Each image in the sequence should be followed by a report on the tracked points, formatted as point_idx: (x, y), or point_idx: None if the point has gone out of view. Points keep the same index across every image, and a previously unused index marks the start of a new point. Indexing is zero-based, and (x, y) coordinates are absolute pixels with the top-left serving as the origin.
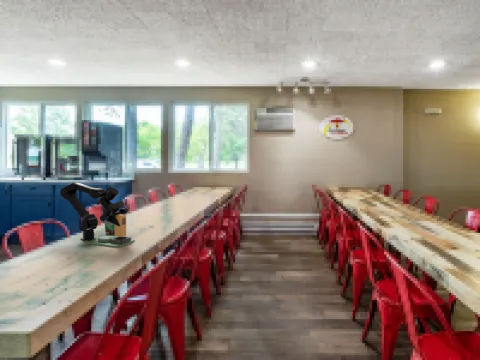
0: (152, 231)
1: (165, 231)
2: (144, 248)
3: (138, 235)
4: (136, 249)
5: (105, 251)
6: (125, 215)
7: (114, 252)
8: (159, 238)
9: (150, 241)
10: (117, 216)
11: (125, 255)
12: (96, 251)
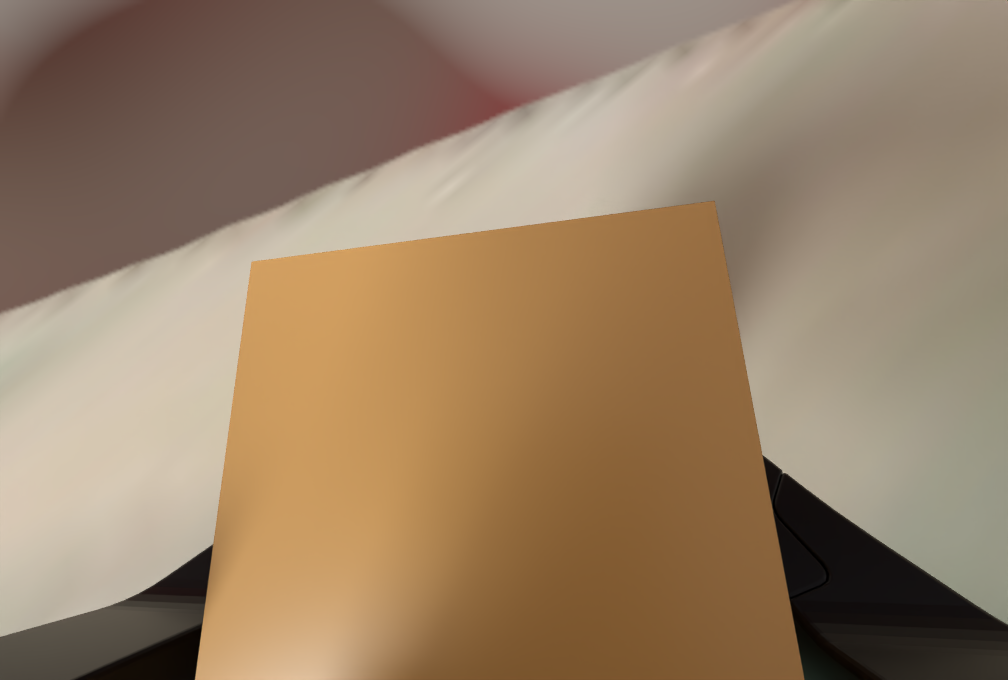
0: (24, 491)
1: (13, 370)
2: (580, 121)
3: (196, 517)
4: (645, 152)
5: (909, 362)
6: (325, 265)
7: (864, 247)
8: (247, 245)
9: (362, 240)
10: (749, 511)
11: (864, 89)
12: (992, 463)
